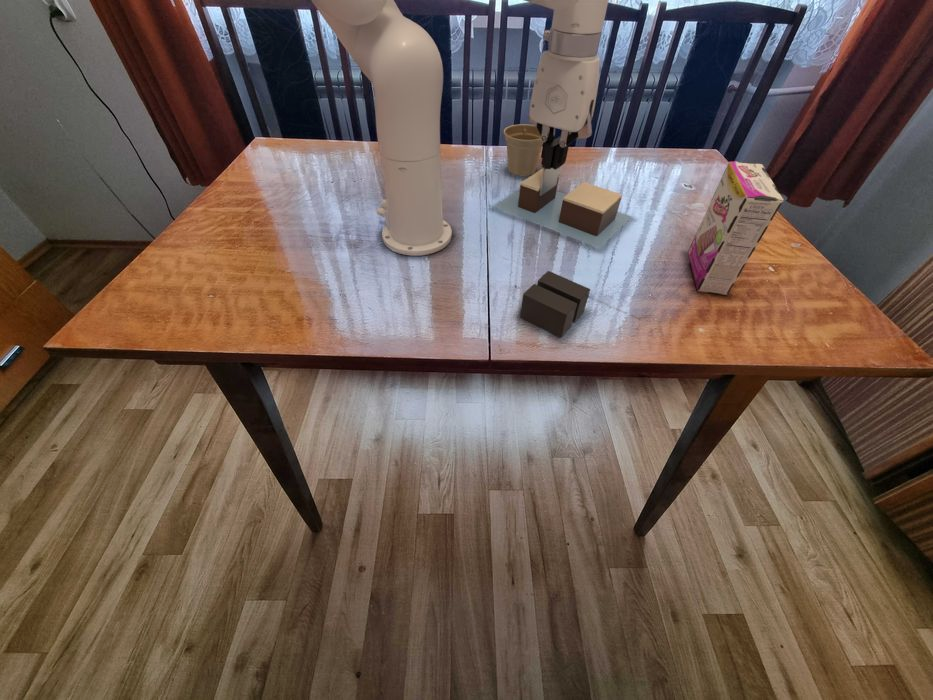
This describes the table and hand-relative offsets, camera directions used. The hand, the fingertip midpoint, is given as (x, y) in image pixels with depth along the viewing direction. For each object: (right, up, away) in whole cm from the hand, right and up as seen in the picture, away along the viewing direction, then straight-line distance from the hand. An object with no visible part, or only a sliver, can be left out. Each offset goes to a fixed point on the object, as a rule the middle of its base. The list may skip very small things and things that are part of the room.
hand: (552, 164), depth 77 cm
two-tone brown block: (-2, -4, +7) cm, 9 cm away
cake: (+7, -10, +3) cm, 12 cm away
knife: (0, -3, +4) cm, 5 cm away
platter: (+3, -7, +5) cm, 10 cm away
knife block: (-3, -29, -15) cm, 33 cm away
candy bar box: (+24, -22, -7) cm, 33 cm away
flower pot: (-3, +6, +18) cm, 20 cm away
